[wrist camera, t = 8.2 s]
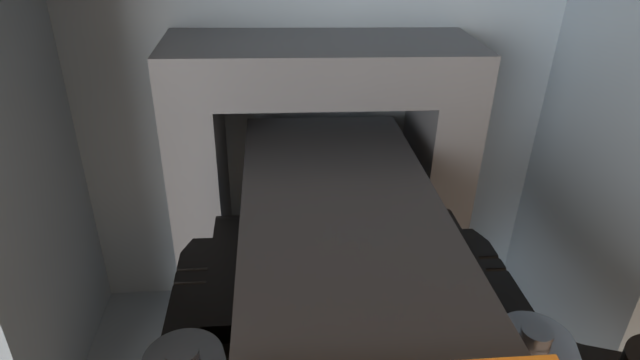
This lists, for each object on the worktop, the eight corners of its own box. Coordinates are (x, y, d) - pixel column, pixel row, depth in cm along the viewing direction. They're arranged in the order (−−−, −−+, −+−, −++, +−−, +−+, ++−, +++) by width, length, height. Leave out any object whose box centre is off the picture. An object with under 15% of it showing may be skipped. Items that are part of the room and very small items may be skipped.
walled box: (-15, -150, 13) (-276, -190, 7) (613, -133, 14) (881, -152, 8) (94, 297, 19) (16, 484, 13) (511, 277, 21) (615, 437, 15)
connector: (239, 111, 14) (198, 470, 5) (400, 109, 14) (609, 438, 6) (247, 245, 16) (226, 661, 7) (387, 240, 17) (525, 629, 8)
